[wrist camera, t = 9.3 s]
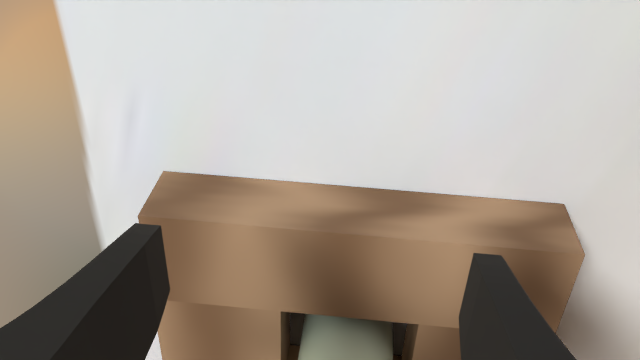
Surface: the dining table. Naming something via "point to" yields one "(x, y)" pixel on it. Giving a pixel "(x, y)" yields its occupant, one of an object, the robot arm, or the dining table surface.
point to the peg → (345, 339)
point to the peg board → (340, 261)
